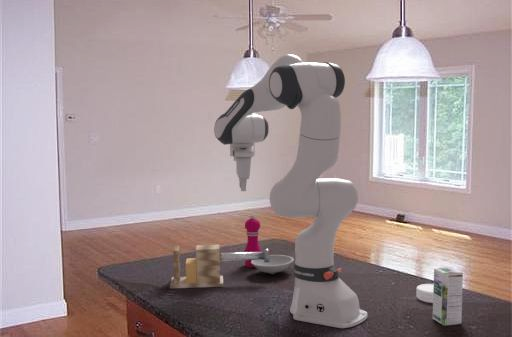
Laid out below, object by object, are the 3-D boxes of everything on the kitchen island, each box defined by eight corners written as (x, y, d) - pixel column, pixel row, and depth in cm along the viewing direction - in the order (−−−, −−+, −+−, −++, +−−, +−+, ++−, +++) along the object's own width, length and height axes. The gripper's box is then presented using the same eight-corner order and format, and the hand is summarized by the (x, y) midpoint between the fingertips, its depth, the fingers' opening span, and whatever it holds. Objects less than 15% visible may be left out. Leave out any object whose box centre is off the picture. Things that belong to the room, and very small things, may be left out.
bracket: (222, 278, 193) (222, 243, 192) (223, 286, 183) (222, 250, 182) (172, 279, 192) (171, 245, 191) (169, 288, 182) (168, 251, 181)
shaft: (268, 260, 191) (267, 247, 191) (269, 264, 186) (269, 250, 186) (197, 262, 189) (197, 249, 189) (197, 266, 184) (197, 252, 184)
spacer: (197, 277, 191) (196, 258, 190) (196, 283, 184) (195, 263, 183) (187, 277, 190) (186, 258, 190) (186, 283, 183) (185, 263, 183)
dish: (273, 282, 187) (273, 268, 187) (242, 275, 196) (242, 262, 196) (302, 271, 201) (302, 258, 200) (272, 265, 210) (272, 252, 209)
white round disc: (434, 306, 162) (434, 294, 161) (409, 297, 170) (409, 286, 170) (456, 300, 167) (457, 289, 166) (431, 292, 175) (431, 281, 175)
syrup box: (431, 318, 150) (432, 267, 149) (450, 317, 152) (451, 266, 151) (443, 326, 145) (444, 273, 144) (462, 324, 146) (463, 271, 145)
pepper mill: (260, 268, 206) (259, 216, 204) (242, 267, 207) (241, 216, 206) (263, 263, 213) (263, 213, 211) (246, 262, 214) (245, 213, 213)
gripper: (232, 149, 203) (232, 186, 205) (234, 152, 183) (235, 193, 184) (249, 149, 204) (249, 185, 205) (253, 152, 184) (253, 192, 185)
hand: (242, 189), depth 194 cm, fingers open, 8 cm apart
